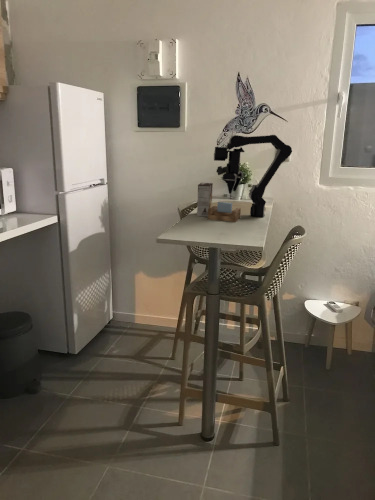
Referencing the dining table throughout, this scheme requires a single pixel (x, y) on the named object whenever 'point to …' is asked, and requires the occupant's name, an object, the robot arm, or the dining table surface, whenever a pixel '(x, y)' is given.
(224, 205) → the blue-gray rectangular block
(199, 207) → the coffee box
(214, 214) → the brown frame
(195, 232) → the dining table surface
